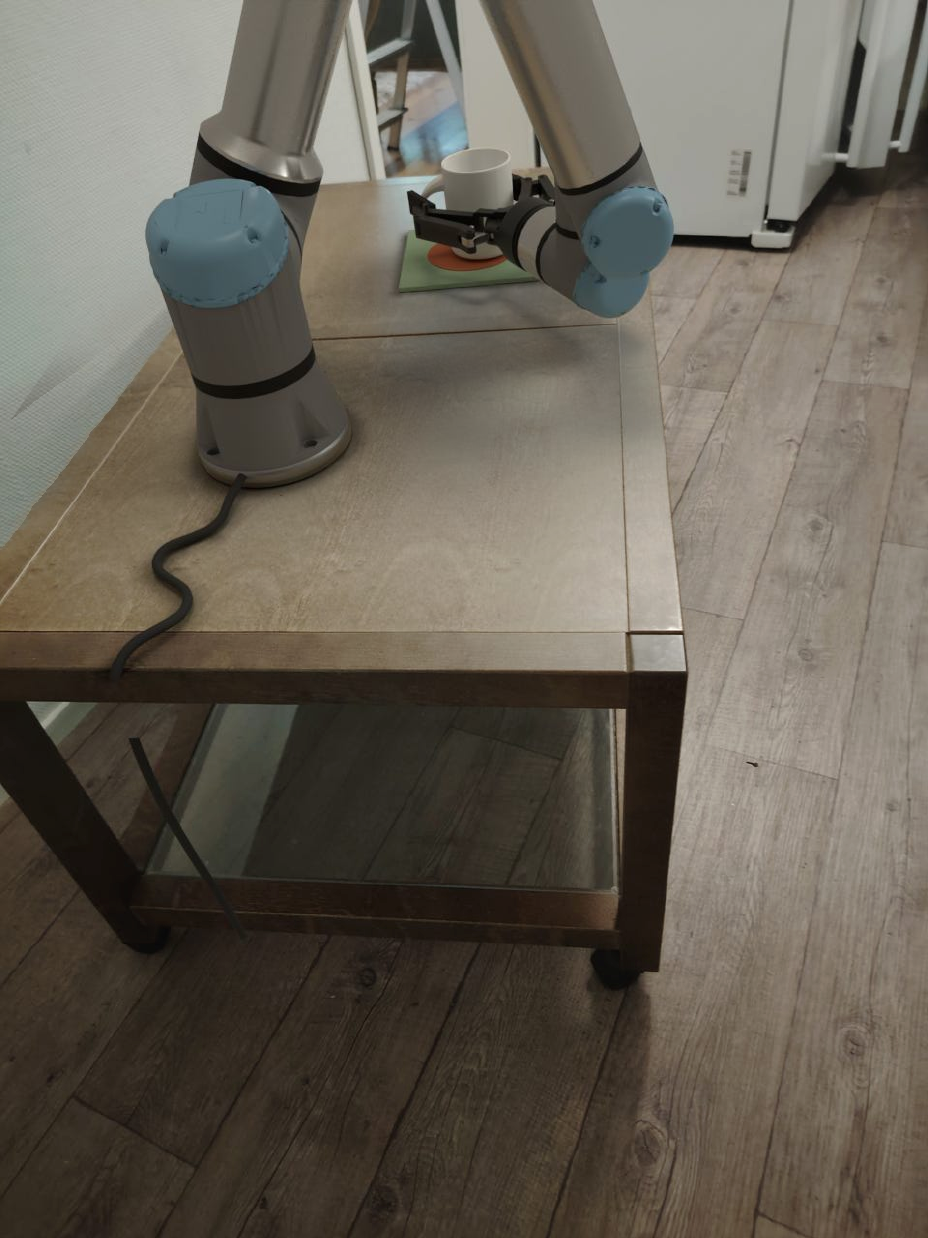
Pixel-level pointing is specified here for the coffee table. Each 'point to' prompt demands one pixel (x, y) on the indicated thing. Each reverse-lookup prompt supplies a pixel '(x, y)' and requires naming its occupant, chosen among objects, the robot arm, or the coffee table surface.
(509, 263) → the placemat
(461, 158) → the mug
